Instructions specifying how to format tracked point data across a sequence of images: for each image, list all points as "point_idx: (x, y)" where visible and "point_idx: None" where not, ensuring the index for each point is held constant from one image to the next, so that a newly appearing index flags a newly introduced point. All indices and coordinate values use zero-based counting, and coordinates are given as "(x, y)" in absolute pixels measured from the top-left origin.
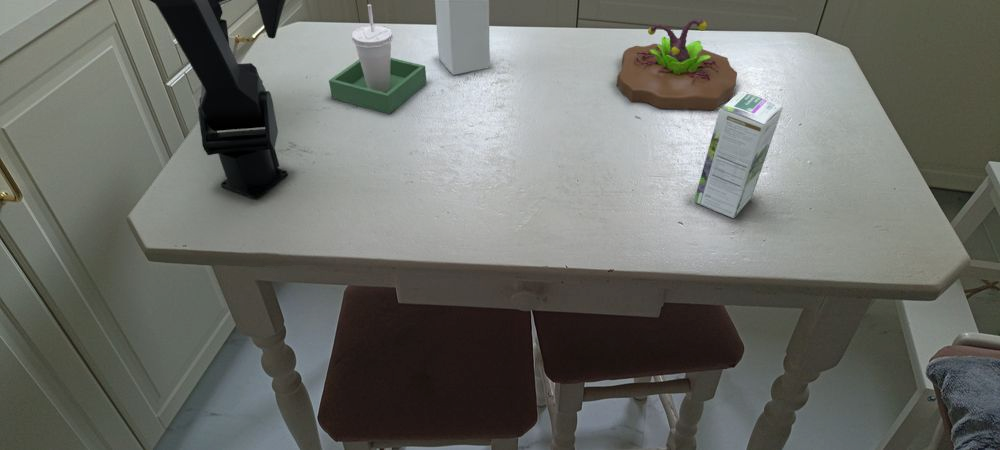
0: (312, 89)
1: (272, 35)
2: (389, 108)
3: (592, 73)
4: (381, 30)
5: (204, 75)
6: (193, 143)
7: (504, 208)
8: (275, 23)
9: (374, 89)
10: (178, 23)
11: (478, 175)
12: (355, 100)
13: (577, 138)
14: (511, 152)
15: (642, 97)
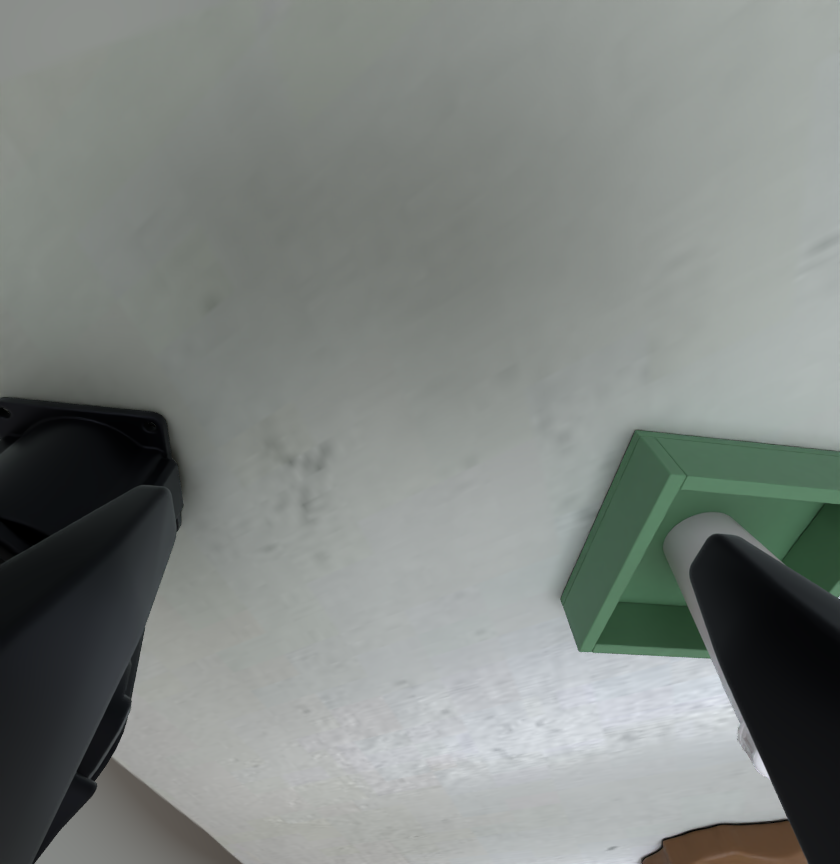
0: (706, 327)
1: (702, 592)
2: (566, 614)
3: (773, 797)
4: None
5: None
6: (117, 57)
7: (308, 803)
8: (758, 740)
9: (669, 555)
10: None
11: (376, 767)
12: (604, 524)
13: (533, 819)
14: (464, 779)
15: (665, 858)
